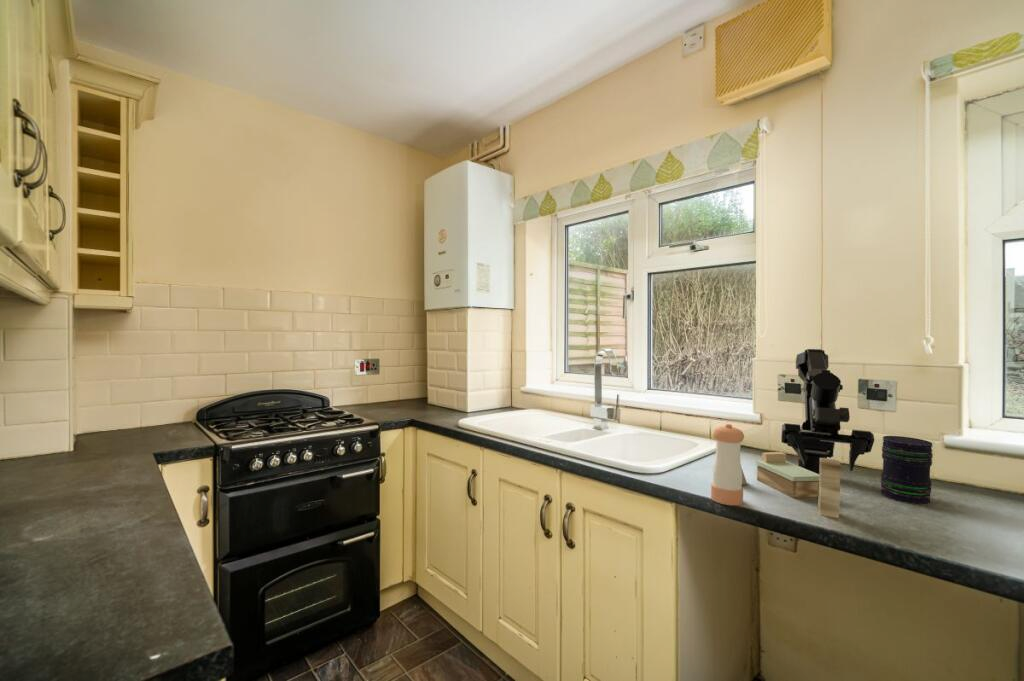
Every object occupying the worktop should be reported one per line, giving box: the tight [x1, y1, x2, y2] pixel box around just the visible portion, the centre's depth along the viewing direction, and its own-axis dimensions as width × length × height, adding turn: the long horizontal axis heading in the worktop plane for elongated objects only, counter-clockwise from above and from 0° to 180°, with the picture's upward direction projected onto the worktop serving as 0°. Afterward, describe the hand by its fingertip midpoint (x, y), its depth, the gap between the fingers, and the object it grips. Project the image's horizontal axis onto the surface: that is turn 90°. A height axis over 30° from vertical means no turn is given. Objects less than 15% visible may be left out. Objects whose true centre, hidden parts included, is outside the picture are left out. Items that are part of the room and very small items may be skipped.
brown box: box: [817, 458, 842, 519], centre depth 106 cm, size 4×4×12 cm
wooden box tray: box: [756, 465, 819, 499], centre depth 123 cm, size 8×14×4 cm, turn 7°
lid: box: [755, 451, 819, 482], centre depth 123 cm, size 8×14×4 cm, turn 7°
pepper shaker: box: [710, 423, 745, 506], centre depth 113 cm, size 7×7×19 cm
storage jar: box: [880, 435, 933, 506], centre depth 117 cm, size 10×10×15 cm
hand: (827, 467), depth 108 cm, fingers open, 9 cm apart
